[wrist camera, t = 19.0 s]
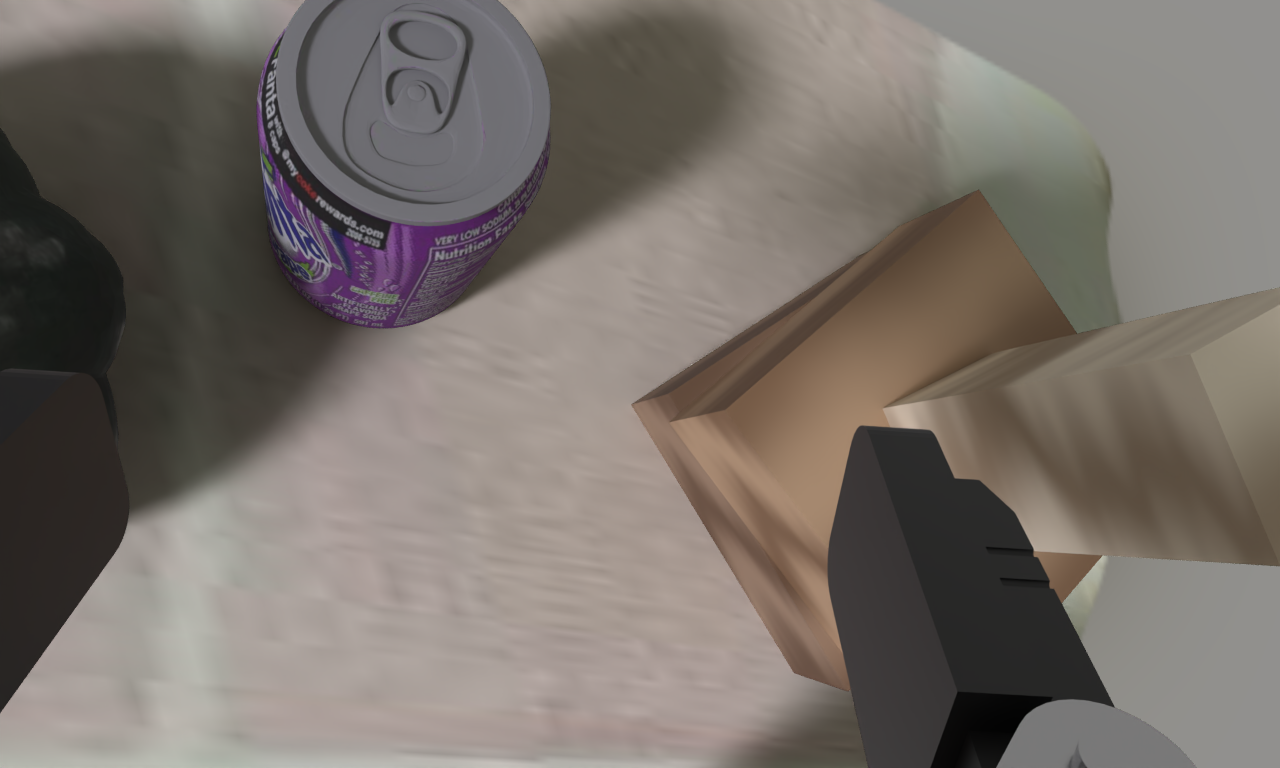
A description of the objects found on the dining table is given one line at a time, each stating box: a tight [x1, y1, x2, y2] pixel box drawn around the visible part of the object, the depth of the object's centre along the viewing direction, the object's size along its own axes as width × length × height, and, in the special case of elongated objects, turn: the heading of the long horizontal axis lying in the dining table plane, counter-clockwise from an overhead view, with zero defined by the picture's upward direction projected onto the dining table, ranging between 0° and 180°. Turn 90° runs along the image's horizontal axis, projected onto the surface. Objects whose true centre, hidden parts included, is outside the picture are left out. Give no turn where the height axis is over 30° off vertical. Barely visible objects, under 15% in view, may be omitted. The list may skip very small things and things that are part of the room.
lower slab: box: [632, 252, 868, 691], centre depth 36 cm, size 12×12×4 cm
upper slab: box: [669, 190, 1103, 653], centre depth 32 cm, size 12×12×4 cm
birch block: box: [882, 287, 1280, 566], centre depth 25 cm, size 5×5×11 cm
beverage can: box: [257, 0, 551, 328], centre depth 27 cm, size 7×7×12 cm
